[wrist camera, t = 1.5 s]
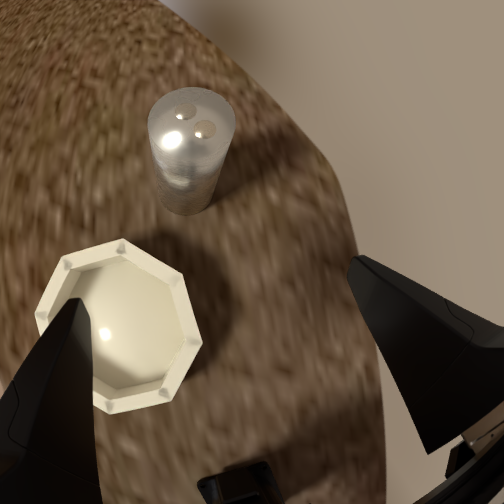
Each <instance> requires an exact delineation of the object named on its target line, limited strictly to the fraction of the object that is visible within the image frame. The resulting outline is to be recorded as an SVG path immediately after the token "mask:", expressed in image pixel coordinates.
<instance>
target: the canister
mask: <svg viewBox="0 0 504 504" xmlns="http://www.w3.org/2000/svg"><path fill="white" fill-rule="evenodd" d="M235 127H236V119H235V114H234V111H233V109H232V107H231V106H230V104H229V103H228V102H227V101H226V100H225V99H224V98H223V97H222V96H220V95H219V94H217V93H215V92H213V91H211V90H207V89H204V88H197V87H188V88H181V89H177V90H174V91H172V92H170V93H168V94H166V95H164V96H163V97H162V98H160V99H159V100H158V101H157V102H156V103H155V105H154V106H153V108H152V109H151V111H150V114H149V117H148V131H149V138H150V144H151V151H152V157H153V163H154V169H155V175H156V181H157V186H158V191H159V196H160V199H161V202H162V203H163V205H164V206H165V207H166V208H167V209H168V210H169V211H171V212H173V213H175V214H178V215H184V216H187V215H193V214H196V213H199V212H200V211H202V210H203V209H204V208H206V207H207V205H208V204H209V203H210V201H211V199H212V196H213V193H214V190H215V187H216V184H217V181H218V178H219V175H220V172H221V169H222V166H223V163H224V160H225V157H226V154H227V151H228V148H229V145H230V142H231V140H232V137H233V134H234V131H235Z"/></svg>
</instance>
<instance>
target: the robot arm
mask: <svg viewBox="0 0 504 504" xmlns="http://www.w3.org/2000/svg"><path fill="white" fill-rule="evenodd" d="M347 280H348V283H349V285H350V288H351V290H352V292H353V295H354V297H355V300H356V302H357V304H358V307H359V309H360V312H361V314H362V316H363V318H364V320H365V322H366V324H367V326H368V328H369V330H370V332H371V334H372V336H373V338H374V340H375V342H376V344H377V345H378V347H379V349H380V351H381V353H382V355H383V357H384V360H385V362H386V363H387V366H388V368H389V370H390V372H391V374H392V376H393V378H394V380H395V382H396V384H397V386H398V389H399V391H400V393H401V395H402V397H403V399H404V402H405V404H406V406H407V408H408V411H409V413H410V415H411V418H412V420H413V422H414V424H415V426H416V429H417V431H418V434H419V436H420V439H421V441H422V443H423V446H424V448H425V451H426V453H427V454H428V455H429V454H430V453H432V452H434V451H435V450H437V449H439V448H440V447H442V446H443V445H445V444H447V443H448V442H450V441H451V440H453V439H454V438H456V437H457V436H459V435H460V434H461V436H462V437H463V440H462V441H461V442H460V443H459V444H457V445H456V446H455V447H454V448H452V449H451V451H450V456H449V460H448V465H447V469H446V473H445V477H446V479H447V480H445V481H444V482H443V483H442V484H440V485H439V486H437V487H436V488H435V489H433V490H432V491H431V492H429V493H428V494H426V495H425V496H424V497H422V498H421V499H419V500H418V501H416V502H415V503H413V504H504V327H501V326H498V325H496V324H494V323H492V322H490V321H488V320H486V319H484V318H482V317H480V316H478V315H476V314H474V313H472V312H470V311H468V310H466V309H464V308H462V307H460V306H458V305H456V304H454V303H453V302H451V301H449V300H447V299H445V298H443V297H442V296H440V295H438V294H437V293H435V292H433V291H431V290H429V289H428V288H426V287H424V286H422V285H420V284H418V283H416V282H415V281H413V280H411V279H409V278H407V277H405V276H403V275H402V274H399V273H398V272H396V271H394V270H392V269H390V268H388V267H386V266H384V265H382V264H380V263H379V262H377V261H374V260H372V259H371V258H369V257H367V256H365V255H359V256H354V257H353V258H352V260H351V263H350V266H349V270H348V273H347ZM262 466H265V467H264V468H261V467H262ZM202 484H204V485H205V486H201V485H202ZM197 487H198V489H199V491H200V493H201V495H202V496H203V498H204V500H205V502H206V503H207V504H285V503H284V501H283V498H282V496H281V494H280V491H279V489H278V486H277V484H276V481H275V479H274V476H273V474H272V471H271V468H270V466H269V464H268V463H267V462H265V461H263V462H259V463H257V464H254V465H251V466H248V467H245V468H244V467H243V468H240V469H237V470H234V471H230V472H227V473H223V474H220V475H217V476H214V477H211V478H207V479H203V480H200V481H198V482H197ZM0 504H103V502H102V496H101V490H100V484H99V476H98V468H97V459H96V449H95V435H94V416H93V356H92V340H91V320H90V316H89V314H88V311H87V309H86V307H85V305H84V303H83V301H82V299H81V298H79V297H77V298H70V299H68V300H67V301H66V302H65V304H64V305H63V306H62V308H61V309H60V310H59V312H58V313H57V314H56V316H55V317H54V318H53V320H52V321H51V322H50V324H49V325H48V327H47V328H46V329H45V331H44V332H43V334H42V335H41V336H40V338H39V339H38V341H37V342H36V344H35V345H34V347H33V348H32V350H31V351H30V353H29V354H28V356H27V357H26V359H25V360H24V362H23V363H22V365H21V366H20V368H19V370H18V371H17V373H16V374H15V376H14V378H13V380H12V381H11V382H10V384H9V386H8V387H7V389H6V391H5V392H4V394H3V395H2V397H1V399H0ZM310 504H311V503H310Z"/></svg>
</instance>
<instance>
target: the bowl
mask: <svg viewBox="0 0 504 504" xmlns="http://www.w3.org/2000/svg"><path fill="white" fill-rule="evenodd" d="M77 297H79V298H81V299H82V301H83V303H84V305H85V307H86V309H87V311H88V314H89V316H90V320H91V340H92V356H93V405H95V406H96V407H98V408H100V409H101V410H103V411H105V412H106V413H108V414H114V413H119V412H124V411H129V410H134V409H139V408H143V407H148V406H152V405H157V404H161V403H165V402H169V401H172V399H173V397H174V395H175V393H176V391H177V390H178V388H179V386H180V384H181V382H182V380H183V378H184V377H185V375H186V373H187V371H188V369H189V367H190V365H191V364H192V362H193V360H194V358H195V356H196V354H197V352H198V351H199V349H200V347H201V345H202V343H203V342H202V339H201V336H200V333H199V330H198V326H197V323H196V320H195V317H194V313H193V310H192V307H191V303H190V300H189V296H188V293H187V289H186V286H185V282H184V279H183V274H181V273H179V272H178V271H176V270H174V269H173V268H171V267H169V266H167V265H166V264H164V263H162V262H161V261H159V260H157V259H156V258H154V257H152V256H151V255H149V254H147V253H146V252H144V251H142V250H141V249H139V248H138V247H136V246H134V245H133V244H131V243H129V242H128V241H126V240H125V239H120V240H116V241H112V242H109V243H105V244H102V245H98V246H95V247H91V248H88V249H85V250H81V251H78V252H75V253H71V254H68V255H65V256H62V258H61V260H60V262H59V263H58V265H57V267H56V269H55V271H54V273H53V275H52V277H51V279H50V281H49V283H48V285H47V288H46V290H45V292H44V294H43V296H42V298H41V300H40V303H39V305H38V307H37V309H36V312H35V317H36V321H37V325H38V329H39V333H40V336H41V335H42V334H43V332H44V331H45V329H46V328H47V327H48V325H49V324H50V322H51V321H52V320H53V318H54V317H55V316H56V314H57V313H58V312H59V310H60V309H61V308H62V306H63V305H64V304H65V302H66V301H67V300H68V299H70V298H77Z"/></svg>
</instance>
